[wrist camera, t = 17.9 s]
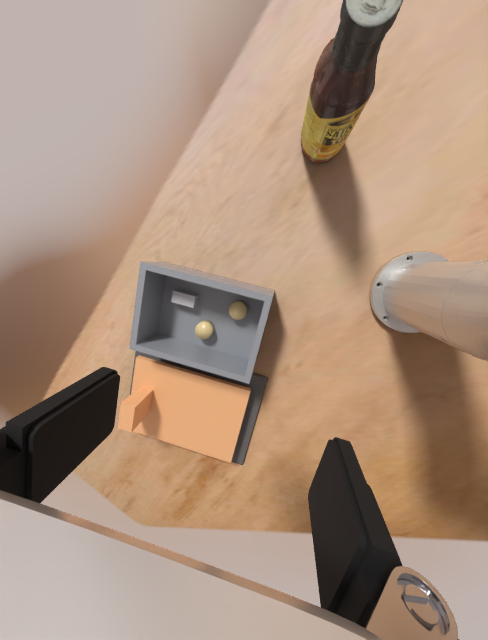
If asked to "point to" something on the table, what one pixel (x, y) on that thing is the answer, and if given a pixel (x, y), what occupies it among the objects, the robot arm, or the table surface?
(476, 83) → the table surface
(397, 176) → the table surface
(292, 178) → the table surface
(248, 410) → the mat
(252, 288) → the tub
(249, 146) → the table surface
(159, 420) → the lid
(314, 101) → the sauce bottle
